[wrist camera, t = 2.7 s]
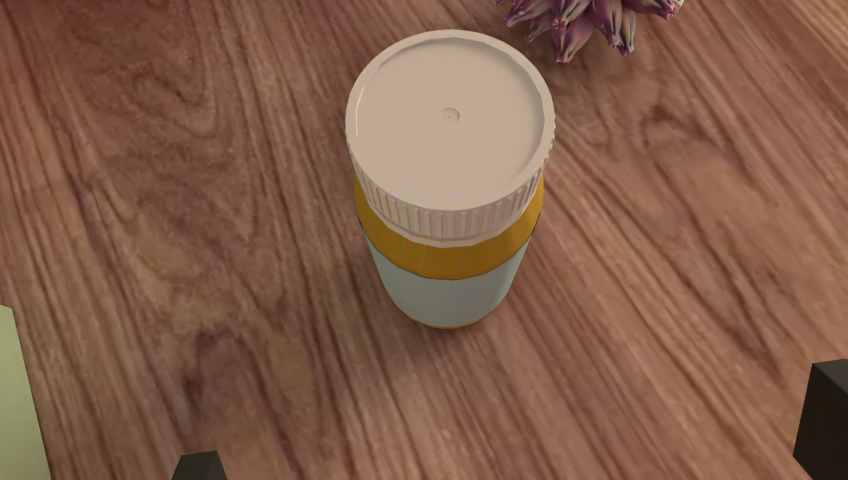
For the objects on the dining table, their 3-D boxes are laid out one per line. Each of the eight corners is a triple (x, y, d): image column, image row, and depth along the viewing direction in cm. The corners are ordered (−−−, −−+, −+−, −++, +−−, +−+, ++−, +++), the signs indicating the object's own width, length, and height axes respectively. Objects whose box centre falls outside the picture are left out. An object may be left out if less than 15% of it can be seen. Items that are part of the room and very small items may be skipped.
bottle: (359, 247, 31) (288, 82, 17) (466, 186, 32) (484, -17, 18) (424, 356, 29) (406, 273, 15) (537, 288, 30) (621, 148, 16)
